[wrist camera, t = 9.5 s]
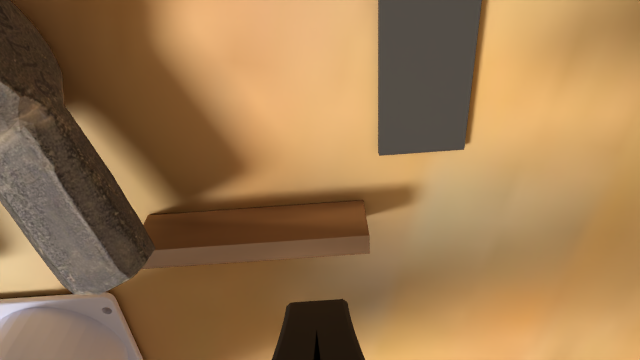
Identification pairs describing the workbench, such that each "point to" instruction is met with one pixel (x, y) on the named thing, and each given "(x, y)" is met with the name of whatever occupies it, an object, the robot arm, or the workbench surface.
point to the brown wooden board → (257, 234)
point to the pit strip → (425, 73)
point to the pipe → (59, 172)
